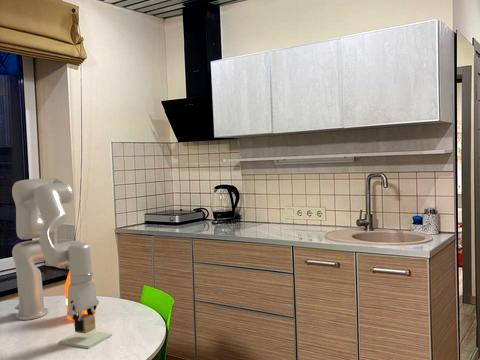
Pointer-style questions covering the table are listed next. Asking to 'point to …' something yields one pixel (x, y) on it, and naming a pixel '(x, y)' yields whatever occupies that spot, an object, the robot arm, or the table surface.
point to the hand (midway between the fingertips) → (85, 327)
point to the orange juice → (67, 297)
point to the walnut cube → (87, 323)
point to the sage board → (85, 339)
